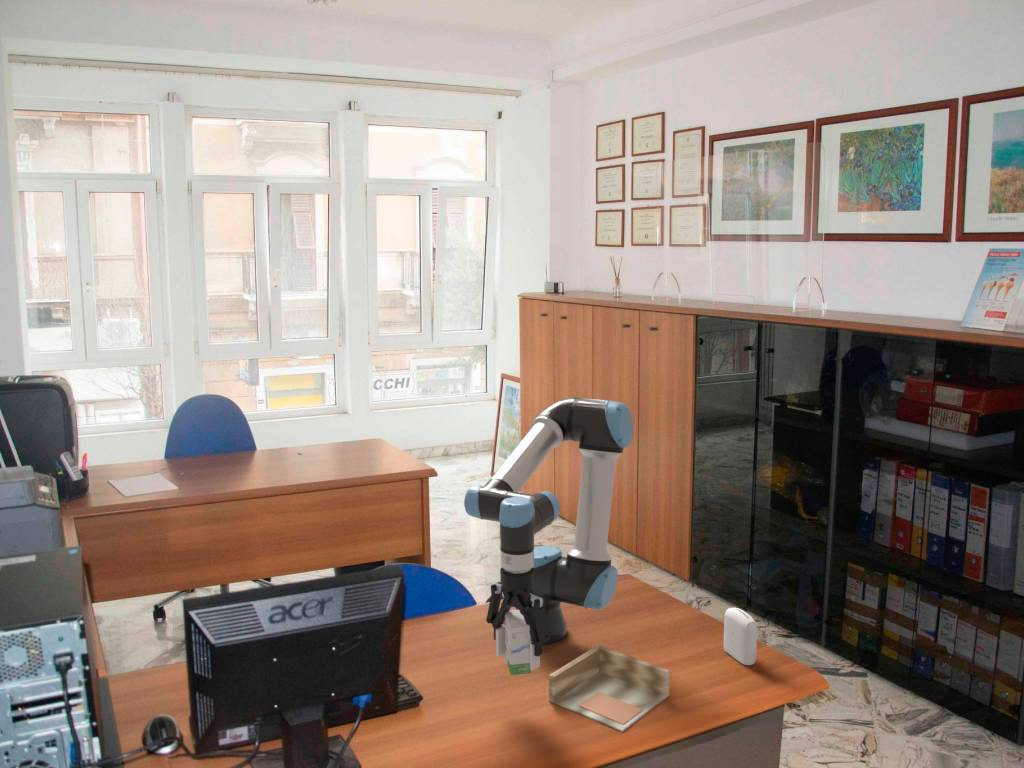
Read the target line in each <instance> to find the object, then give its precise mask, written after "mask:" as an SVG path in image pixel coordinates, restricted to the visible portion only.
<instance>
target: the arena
mask: <svg viewBox="0 0 1024 768" xmlns="http://www.w3.org/2000/svg"><path fill="white" fill-rule="evenodd" d="M597 692H600V693H603V694H605V695H608V696H610V697H613V698H616V699H618V700H621V701H623V702H626V703H628V704H631V705H633V706H636V707H638V708H641V709H643V710H642V711H641V712H639V713H638V714H637V715H636V716H634V717H633V718H632V719H630V720H629V721H628V722H626V723H625V724H624V725H623V724H620V723H618V722H615V721H613V720H611V719H608V718H606V717H603V716H601V715H599V714H596V713H594V712H591V711H589V710H587V709H584V708H582V707H579V705H580V704H581V703H583V702H584V701H586V700H587V699H589V698H590V697H591V696H593V695H594V694H596V693H597ZM669 694H670V669H667V668H664V667H661V666H659V665H655V664H653V663H650V662H648V661H644V660H643V659H639V658H637V657H633V656H630V655H629V654H628V655H627V654H625V653H621V652H620V651H617V650H614V649H611V648H608V647H605V646H602V645H600V644H597V645H596V646H593V647H592V648H591V649H589V650H587V651H586V652H584V653H582V654H581V655H579V656H577V657H576V658H575V659H572V660H571V661H570V662H568V663H566V664H565V665H563V666H562V667H559V668H558V669H556V670H555V671H553V672H552V673H550V674H548V702H551V703H552V704H555V705H558V706H559V707H562V708H565V709H566V710H568V711H569V710H570V711H572V712H574V713H577V714H579V715H580V716H583V717H586V718H588V719H590V720H593V721H595V722H598V723H599V724H602V725H605V726H607V727H609V728H612V729H614V730H617V731H620V732H622V733H623V732H624V731H626V730H627V729H628V728H629V727H631V726H632V725H633V724H635V723H636V722H637V721H639V720H640V719H641V718H642V717H643V716H645V715H647V713H649V712H651V710H652V709H654V708H655V707H656V706H658V705H659V704H660V703H661V702H663V701H665V699H666V698H668V697H669Z"/></svg>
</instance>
